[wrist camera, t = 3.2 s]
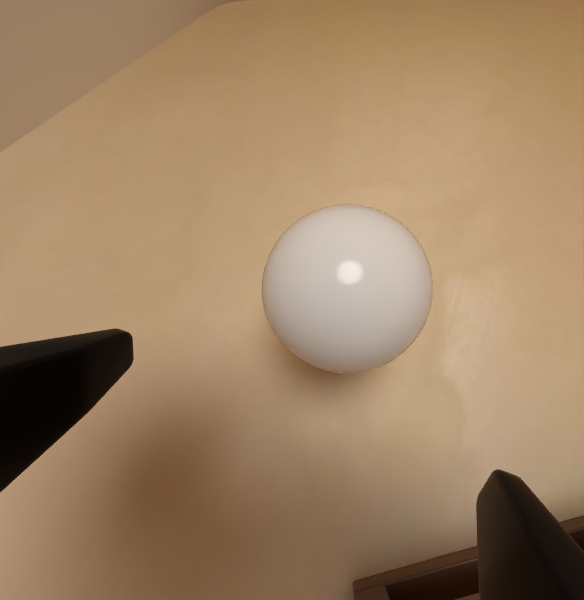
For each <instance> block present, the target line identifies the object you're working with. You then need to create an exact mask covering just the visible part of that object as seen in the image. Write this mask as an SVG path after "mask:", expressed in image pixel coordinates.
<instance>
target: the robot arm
mask: <svg viewBox="0 0 584 600" xmlns="http://www.w3.org/2000/svg"><path fill="white" fill-rule="evenodd" d="M132 362H133V339H132V336H131V334H130V333H128V332H126V331H123V330H120V329H109V330H103V331H97V332H91V333H85V334H78V335H72V336H66V337H60V338H53V339H47V340H41V341H35V342H28V343H22V344H16V345H10V346H3V347H0V492H1V491H2V490H4V489H5V488H6V487H7V486H8V485H9V484H10V483H11V482H12V481H13V480H15V479H16V478H17V477H18V476H19V475H20V474H21V473H22V472H23V471H24V470H25V469H27V468H28V467H29V466H30V465H31V464H32V463H33V462H34V461H35V460H36V459H38V458H39V457H40V456H41V455H42V454H43V453H44V452H45V451H46V450H47V449H49V448H50V447H51V446H52V445H53V444H54V443H55V442H56V441H57V440H58V439H59V438H61V437H62V436H63V435H64V434H65V433H66V432H67V431H68V430H69V429H70V428H72V427H73V426H74V425H75V424H76V423H77V422H78V421H79V420H80V419H81V418H82V417H84V416H85V415H86V414H87V413H88V412H89V411H90V410H91V409H92V408H93V407H94V406H95V405H96V403H97V402H98V401H99V400H100V399H101V398H102V397H103V396H104V395H105V394H106V393H107V392H108V390H109V389H110V388H111V387H112V386H113V385H114V384H115V383H116V382H117V381H118V380H119V379H120V377H121V376H122V375H123V374H124V373H125V372H126V371H127V370H128V369H129V368H130V366H131V365H132ZM476 513H477V546H478V578H479V593H480V600H584V551H583V550H582V549H581V548H580V547H579V545H578V544H577V543H576V542H575V541H574V540H573V539H572V537H571V536H570V535H569V534H568V533H567V532H566V530H565V529H564V528H563V527H562V526H561V525H560V523H559V522H558V521H557V520H556V519H555V518H554V516H553V515H552V514H551V513H550V512H549V511H548V509H547V508H546V507H545V506H544V505H543V504H542V502H541V501H540V500H539V499H538V498H537V497H536V495H535V494H534V493H533V492H532V491H531V490H530V488H529V487H528V486H527V485H526V484H525V483H524V481H523V480H522V479H521V478H519V477H518V476H516V475H513V474H510V473H508V472H505V471H502V470H495V471H493V472H492V473H491V475H490V477H489V478H488V480H487V482H486V483H485V485H484V487H483V488H482V490H481V492H480V493H479V495H478V498H477V504H476Z"/></svg>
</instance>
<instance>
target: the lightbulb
mask: <svg viewBox="0 0 584 600" xmlns="http://www.w3.org/2000/svg"><path fill="white" fill-rule="evenodd" d="M432 296H433V279H432V273H431V268H430V264H429V261H428V259H427V256H426V254H425V252H424V250H423V248H422V246H421V244H420V243H419V241H418V240H417V239H416V237H415V236H414V235H413V234H412V232H411V231H410V230H409V229H408V228H407V227H406V226H404V225H403V224H402V223H401V222H399V221H398V220H397V219H395V218H394V217H392V216H390V215H389V214H387V213H385V212H382V211H380V210H377V209H374V208H371V207H367V206H362V205H353V204H342V205H334V206H329V207H325V208H321V209H318V210H316V211H313V212H311V213H309V214H307V215H305V216H303V217H302V218H300V219H299V220H297V221H296V222H295V223H293V224H292V225H291V226H290V227H289V228H288V229H287V230H286V231H285V232H284V233H283V234H282V235H281V236H280V238H279V239H278V240H277V242H276V243H275V245H274V247H273V248H272V250H271V252H270V254H269V257H268V259H267V262H266V265H265V268H264V272H263V278H262V301H263V307H264V311H265V314H266V317H267V320H268V322H269V324H270V326H271V328H272V330H273V332H274V334H275V335H276V337H277V338H278V339H279V341H280V342H281V343H282V344H283V345H284V347H285V348H286V349H287V350H288V351H290V352H291V353H292V354H293V355H294V356H296V357H297V358H298V359H300V360H302V361H303V362H305V363H307V364H309V365H311V366H313V367H316V368H318V369H321V370H325V371H329V372H335V373H359V372H365V371H369V370H372V369H376V368H378V367H381V366H383V365H385V364H387V363H389V362H391V361H392V360H394V359H395V358H397V357H398V356H400V355H401V354H402V353H403V352H404V351H406V350H407V349H408V348H409V347H410V345H411V344H412V343H413V342H414V341H415V340H416V338H417V337H418V335H419V334H420V332H421V331H422V329H423V327H424V325H425V323H426V320H427V318H428V315H429V312H430V308H431V303H432Z"/></svg>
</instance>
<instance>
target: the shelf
mask: <svg viewBox="0 0 584 600" xmlns="http://www.w3.org/2000/svg"><path fill="white" fill-rule="evenodd" d="M560 525H561V526H562V527H563V528H564V529H565V530H566V532H567V533H568V534H569V535H570V536H571V537H572V539H573V540H574V541H575V542H576V543H577V544H578V545H579V547H580V548H581V549H582V550H583V551H584V516H583V517H579V518H576V519H572V520H568V521H565V522H561V523H560ZM353 590H354V598H355V600H480V593H479V578H478V546H477V547H474V548H470V549H467V550H463V551H460V552H456V553H453V554H449V555H446V556H442V557H439V558H435V559H432V560H428V561H425V562H421V563H418V564H414V565H411V566H407V567H403V568H400V569H396V570H393V571H389V572H386V573H382V574H379V575H375V576H372V577H368V578H365V579H361V580H358V581H354V582H353Z"/></svg>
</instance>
